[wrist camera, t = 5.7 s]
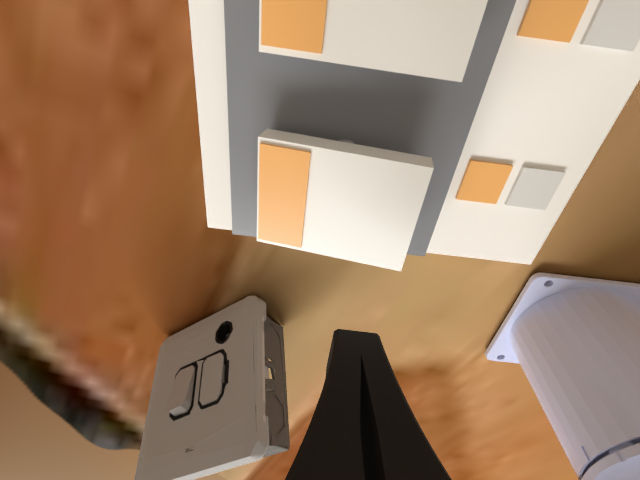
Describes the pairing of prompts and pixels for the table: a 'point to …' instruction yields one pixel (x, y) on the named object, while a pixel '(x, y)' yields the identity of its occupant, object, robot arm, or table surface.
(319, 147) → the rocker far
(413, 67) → the rocker near
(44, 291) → the table surface
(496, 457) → the table surface
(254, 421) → the electrical switch
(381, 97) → the switch unit
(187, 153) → the table surface
